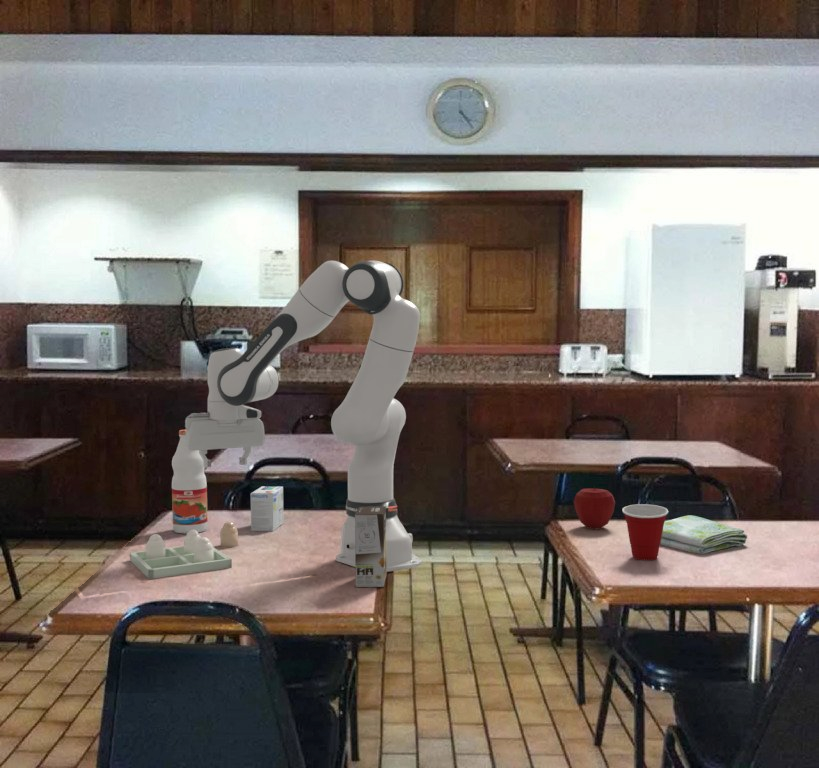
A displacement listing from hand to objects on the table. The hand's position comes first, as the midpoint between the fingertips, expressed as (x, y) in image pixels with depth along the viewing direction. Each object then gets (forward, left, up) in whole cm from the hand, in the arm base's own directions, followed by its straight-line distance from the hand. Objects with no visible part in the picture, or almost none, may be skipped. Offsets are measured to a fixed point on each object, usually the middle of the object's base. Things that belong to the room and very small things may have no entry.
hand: (225, 465), depth 240 cm
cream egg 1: (-8, +20, -20) cm, 30 cm away
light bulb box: (+17, -17, -21) cm, 33 cm away
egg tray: (-13, +16, -21) cm, 29 cm away
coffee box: (-48, -17, -21) cm, 55 cm away
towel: (-57, -105, -22) cm, 122 cm away
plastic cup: (-63, -83, -21) cm, 106 cm away
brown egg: (-1, 0, -21) cm, 21 cm away
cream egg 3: (-17, +11, -20) cm, 29 cm away
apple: (-31, -95, -21) cm, 102 cm away
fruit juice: (+24, +3, -21) cm, 32 cm away
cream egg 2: (-8, +11, -20) cm, 25 cm away
